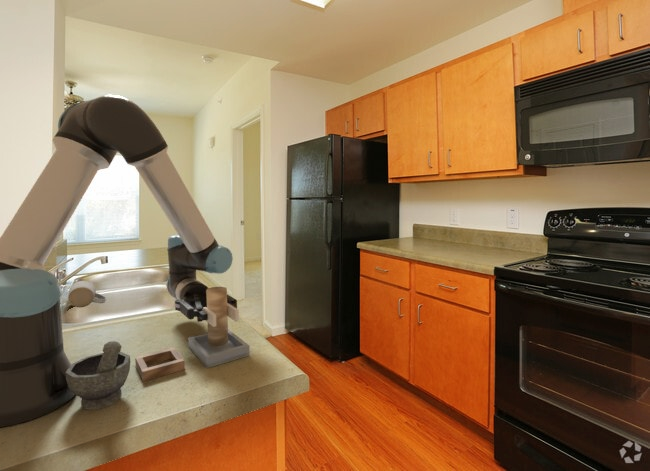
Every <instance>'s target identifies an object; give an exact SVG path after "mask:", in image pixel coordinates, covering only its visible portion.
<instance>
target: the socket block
mask: <svg viewBox="0 0 650 471" xmlns="http://www.w3.org/2000/svg"><path fill="white" fill-rule="evenodd" d="M134 359H135V368H136V369H137V372H138V374H139V376H140V378H141V380H142V382H145V381H149V380H153V379H155V378H159V377H163V376H166V375H170V374H173V373H177V372H180V371H183V370H185V369H186V368H185V367H186V366H185V360H184V358H183V357H182V356H181V354H180V353H179V351H178V350H177V349H176V348H175V347H171V348H166V349H163V350H158V351H154V352H150V353H146V354H143V355H138V356H135V357H134ZM169 360H171V361H169ZM164 361H168V362H164ZM161 362H164V363H161ZM156 363H161V364H158V365H154V366H149V365H153V364H156ZM148 366H149V367H148Z"/></svg>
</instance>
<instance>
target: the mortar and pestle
mask: <svg viewBox="0 0 650 471" xmlns="http://www.w3.org/2000/svg"><path fill="white" fill-rule="evenodd" d="M122 348H123V347H122V344H121V343H120V342H118V341H116V340H113V341H108V342H106V343H104V345H103V347H102V353H97V354H92V355H89V356H86V357H83V358H81V359H80V360H77V361H75V362H73V363H71V365H70V367H69V368H68V370H67V371H66V381H67V384H68V387H69V388H70V390H71V391H72V392H73V393H74V394H75V395H76V396H78V398H80V399H81V401H80V404H81V407H82V408H84V409H85V410H99V409H102V408H106V407H109V406H111V405H112V404H113V405H114V403H116V402H117V401H119V400H120V399H121V396H122V387H123V386H124V385H125V383H126V381H127V379H128V376H129V373H130V369H131V355H129V354H127V353H125V352H122V351H121V350H122Z"/></svg>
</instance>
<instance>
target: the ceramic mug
mask: <svg viewBox="0 0 650 471" xmlns="http://www.w3.org/2000/svg"><path fill="white" fill-rule="evenodd" d="M67 300H68V302H69V303H70V305H72V307H76V308H85V307H88V306H89V305H91V303H96V304H105V302H106V300H107V297H106V296H104V295H103V294H100V293H97V291H96V287H95V285H94V284H93V283H92V282H90V281H87V280H80V281H76V282H74V283H73V284H72V285H71V286H70V287H69V289H68V293H67Z"/></svg>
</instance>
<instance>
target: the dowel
mask: <svg viewBox="0 0 650 471" xmlns="http://www.w3.org/2000/svg"><path fill="white" fill-rule="evenodd" d="M227 289H228V288H227V287H225V286H212V287H208V289H207V290H206V295H207V308H208V309H209V310H211V311H212V312H214V313H215V314H216V326H215V327H213V326H211V325H210V324H209V323H208V322H207V333H208V344H209V345H210V346H222V345H225V344H227V343H228V329H229V321H228V320H229V319H228V318H229V317H228V313H227V294H228V290H227Z"/></svg>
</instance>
